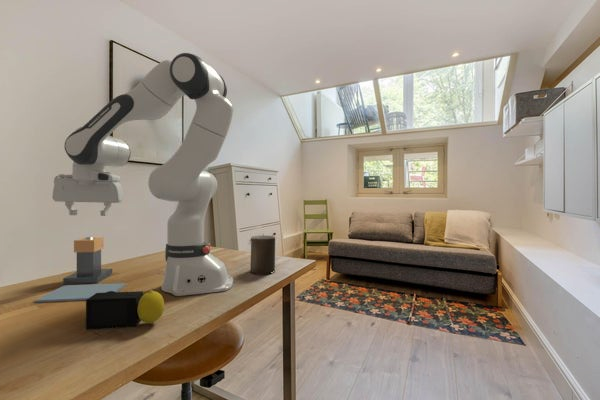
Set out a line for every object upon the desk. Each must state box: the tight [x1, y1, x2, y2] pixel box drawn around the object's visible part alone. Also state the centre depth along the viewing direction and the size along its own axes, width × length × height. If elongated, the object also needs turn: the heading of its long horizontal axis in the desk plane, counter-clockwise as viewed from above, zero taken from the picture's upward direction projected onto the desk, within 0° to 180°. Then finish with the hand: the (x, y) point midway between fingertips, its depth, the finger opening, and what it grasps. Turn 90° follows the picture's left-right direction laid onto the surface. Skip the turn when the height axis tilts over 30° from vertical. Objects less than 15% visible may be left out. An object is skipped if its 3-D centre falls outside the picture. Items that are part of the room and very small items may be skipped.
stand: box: [62, 236, 113, 285], centre depth 95 cm, size 10×10×14 cm
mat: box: [34, 282, 127, 303], centre depth 82 cm, size 18×12×1 cm, turn 100°
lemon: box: [137, 289, 165, 325], centre depth 64 cm, size 6×6×8 cm
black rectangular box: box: [85, 290, 144, 331], centre depth 65 cm, size 10×5×7 cm, turn 100°
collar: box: [73, 236, 104, 253], centre depth 94 cm, size 6×6×4 cm
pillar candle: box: [250, 233, 276, 275], centre depth 109 cm, size 10×10×15 cm
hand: (88, 215), depth 94 cm, fingers open, 8 cm apart
